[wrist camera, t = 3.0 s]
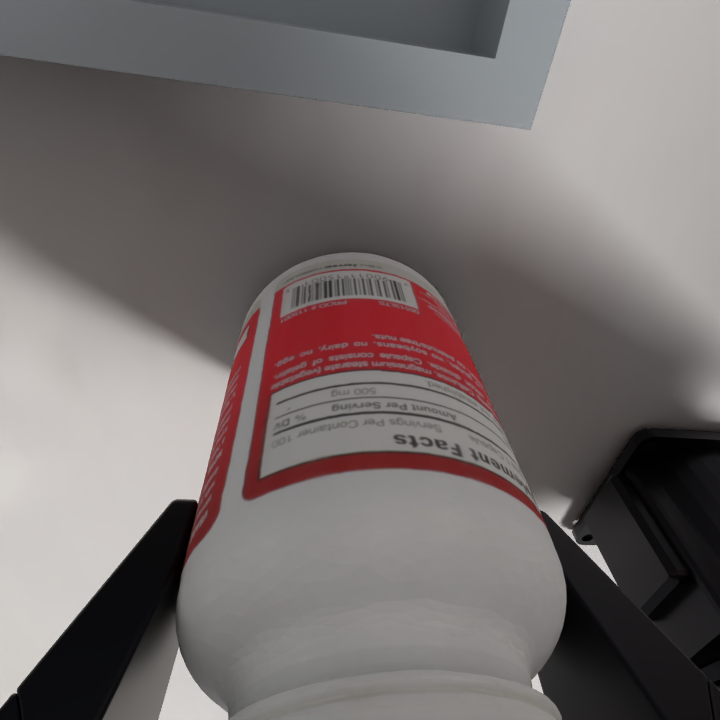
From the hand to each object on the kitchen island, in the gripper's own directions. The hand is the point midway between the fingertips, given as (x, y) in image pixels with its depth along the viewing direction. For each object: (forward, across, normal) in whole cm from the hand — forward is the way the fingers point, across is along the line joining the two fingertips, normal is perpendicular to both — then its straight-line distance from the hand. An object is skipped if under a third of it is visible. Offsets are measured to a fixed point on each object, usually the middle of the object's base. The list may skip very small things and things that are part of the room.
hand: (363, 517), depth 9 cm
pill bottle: (+6, 0, 0) cm, 6 cm away
